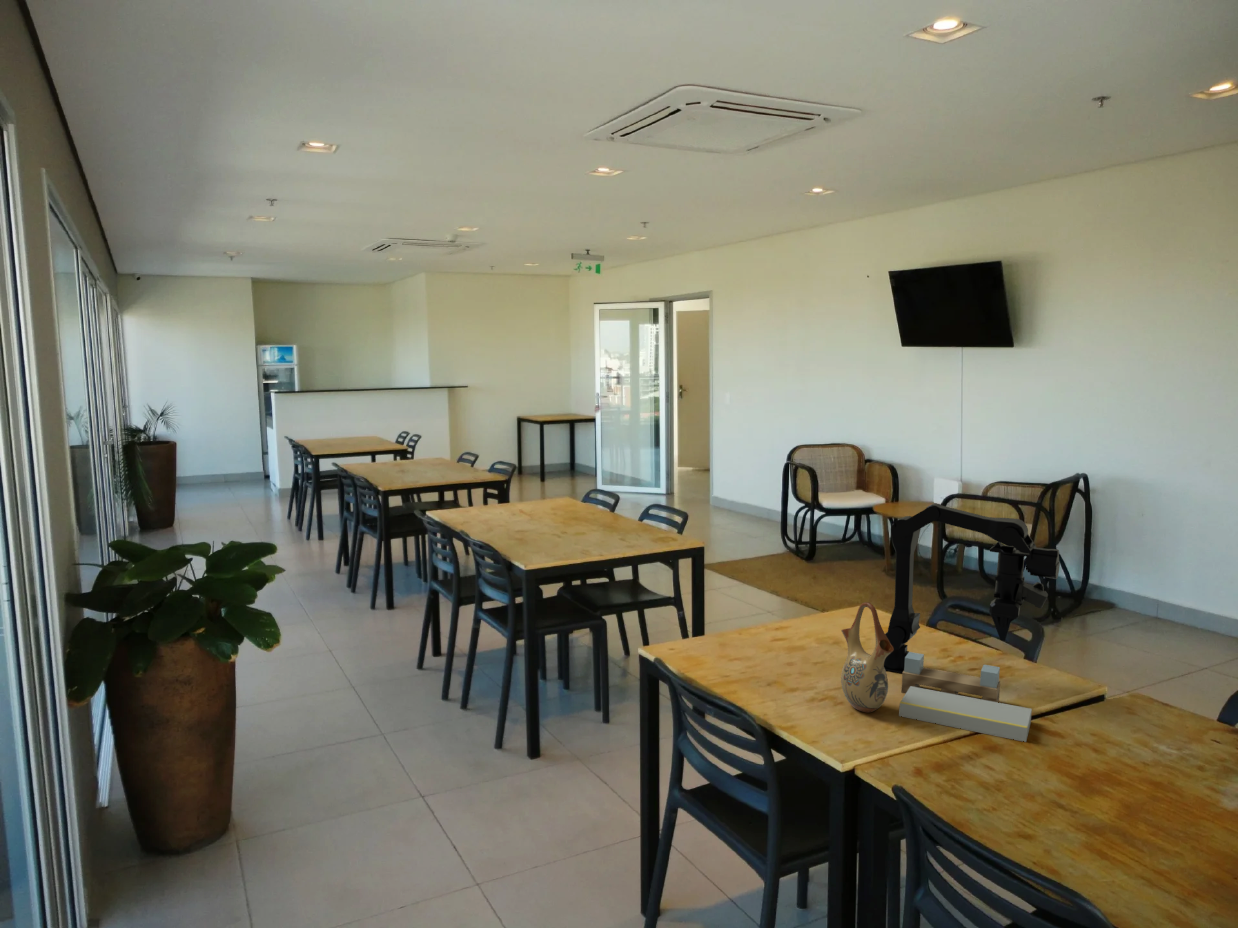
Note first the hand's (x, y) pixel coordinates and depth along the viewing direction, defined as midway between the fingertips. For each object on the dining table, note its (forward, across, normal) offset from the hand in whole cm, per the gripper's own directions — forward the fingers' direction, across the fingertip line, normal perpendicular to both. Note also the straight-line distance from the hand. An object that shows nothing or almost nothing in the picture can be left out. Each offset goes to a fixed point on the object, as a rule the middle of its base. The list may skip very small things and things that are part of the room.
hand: (1004, 634), depth 210 cm
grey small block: (+9, -11, +19) cm, 23 cm away
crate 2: (+9, -11, +2) cm, 14 cm away
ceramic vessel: (+14, -29, +26) cm, 41 cm away
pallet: (+14, -11, +10) cm, 20 cm away
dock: (+14, -23, +5) cm, 27 cm away
